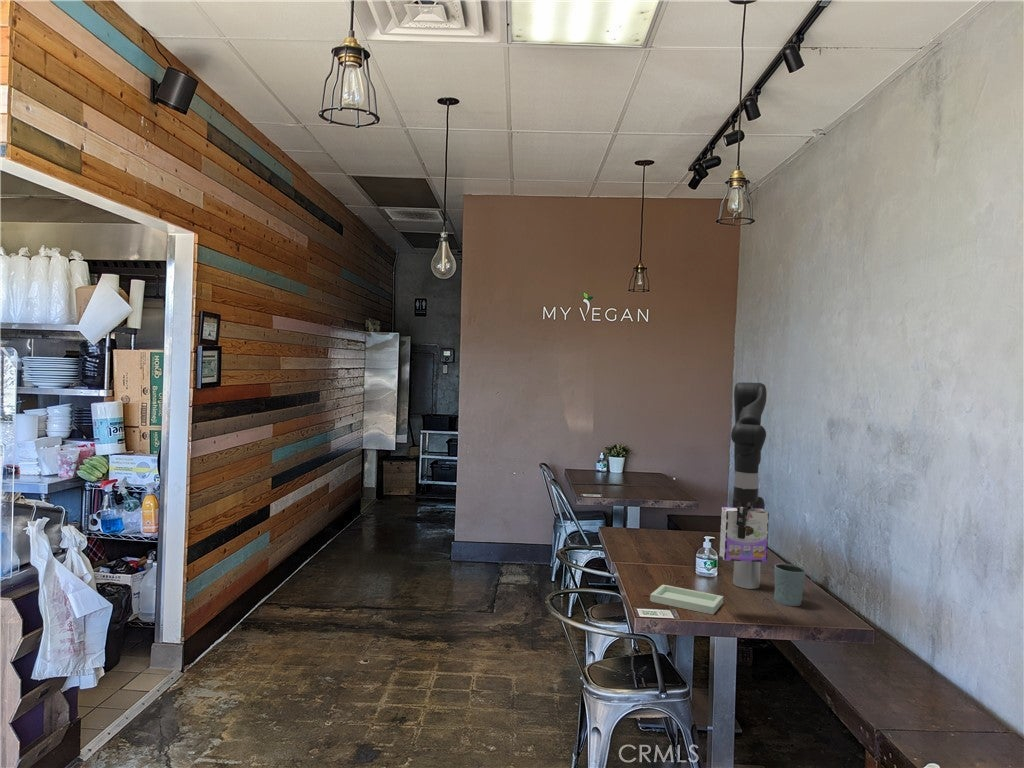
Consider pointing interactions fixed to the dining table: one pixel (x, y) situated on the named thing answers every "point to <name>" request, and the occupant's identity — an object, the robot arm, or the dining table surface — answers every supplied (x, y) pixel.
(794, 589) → the green cup
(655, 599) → the tray
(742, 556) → the candy box
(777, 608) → the dining table surface
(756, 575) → the robot arm
